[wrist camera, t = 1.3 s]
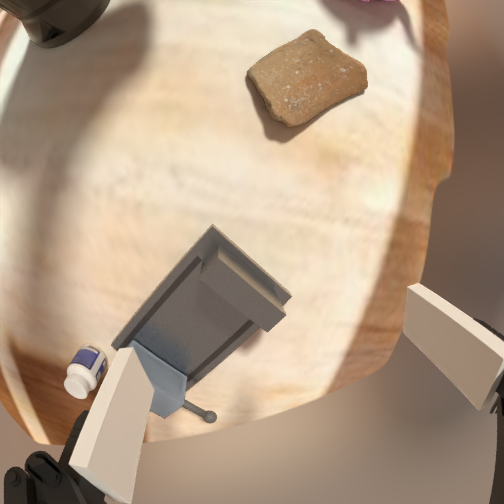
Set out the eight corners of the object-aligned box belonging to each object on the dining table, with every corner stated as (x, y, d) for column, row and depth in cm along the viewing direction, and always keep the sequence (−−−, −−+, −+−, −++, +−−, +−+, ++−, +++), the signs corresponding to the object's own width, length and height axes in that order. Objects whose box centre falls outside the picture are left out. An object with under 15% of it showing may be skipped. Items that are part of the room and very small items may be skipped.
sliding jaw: (117, 357, 36) (106, 382, 30) (133, 339, 35) (121, 364, 29) (205, 412, 40) (205, 438, 35) (224, 398, 40) (226, 425, 34)
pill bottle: (75, 347, 37) (53, 379, 28) (94, 338, 37) (72, 372, 28) (94, 370, 38) (77, 404, 30) (113, 363, 38) (97, 398, 30)
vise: (113, 339, 37) (97, 369, 30) (212, 223, 34) (210, 237, 27) (183, 387, 41) (179, 420, 33) (289, 292, 38) (304, 318, 30)
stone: (366, 88, 31) (377, 83, 28) (281, 137, 32) (287, 133, 29) (322, 29, 28) (330, 20, 25) (231, 71, 29) (232, 62, 26)
